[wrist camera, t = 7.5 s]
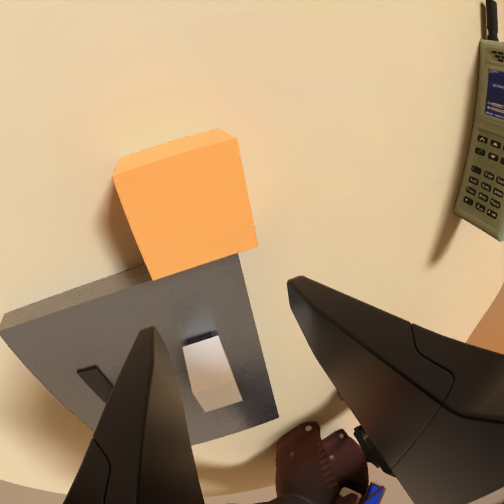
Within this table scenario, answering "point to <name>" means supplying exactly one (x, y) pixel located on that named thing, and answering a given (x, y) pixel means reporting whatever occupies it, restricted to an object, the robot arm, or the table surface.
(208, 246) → the cap
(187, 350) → the switch
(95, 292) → the breaker panel
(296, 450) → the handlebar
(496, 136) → the handheld radio
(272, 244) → the table surface
